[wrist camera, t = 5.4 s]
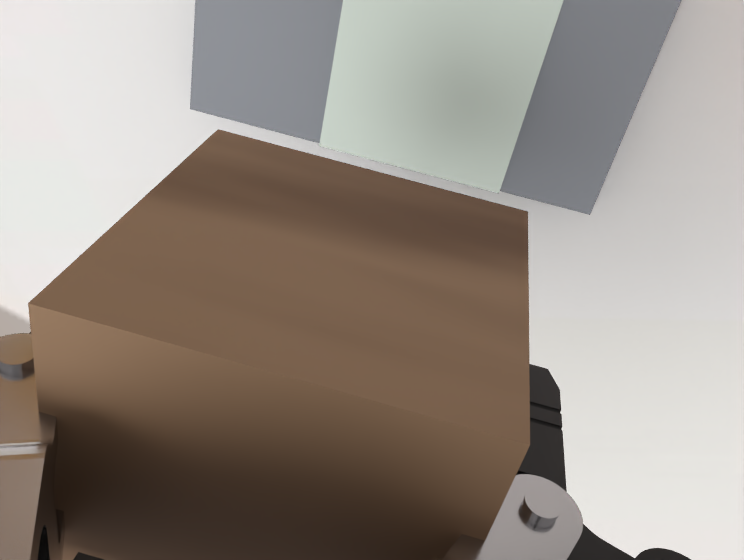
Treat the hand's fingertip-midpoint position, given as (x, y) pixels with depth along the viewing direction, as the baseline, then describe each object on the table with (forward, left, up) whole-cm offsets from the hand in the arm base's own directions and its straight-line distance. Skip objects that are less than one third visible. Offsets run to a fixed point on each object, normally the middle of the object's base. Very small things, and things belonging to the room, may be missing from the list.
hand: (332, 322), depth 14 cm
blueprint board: (-2, -1, -18) cm, 18 cm away
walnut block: (0, 0, -1) cm, 1 cm away
